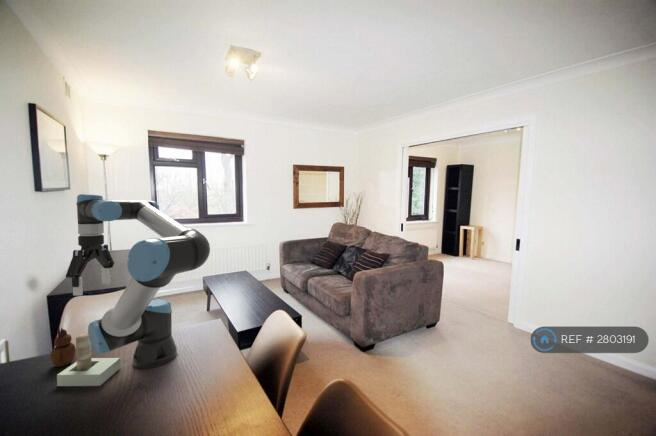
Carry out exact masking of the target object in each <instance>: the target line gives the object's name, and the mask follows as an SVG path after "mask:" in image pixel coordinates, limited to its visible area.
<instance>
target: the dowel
mask: <svg viewBox="0 0 656 436" xmlns="http://www.w3.org/2000/svg"><path fill="white" fill-rule="evenodd" d="M75 356H76V362H77V371H87V370H89V369H90V368H91V367H92V358H93V357H92V346H91V343H90V340H89V335H88V333H82V334H80V335H77V336H76V337H75Z"/></svg>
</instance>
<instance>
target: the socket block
mask: <svg viewBox="0 0 656 436" xmlns="http://www.w3.org/2000/svg"><path fill="white" fill-rule="evenodd" d="M91 358H92V367H91V368H90V369H89V370H87V371H77V361H75V362H74V363H72V364H71V365H70V366H68V367H66V368H65V369H63V370H62V371H61V372H59V373H57V374H56V387H100V386H102V385H103V384H104V383H105V382H107V381H108V380H109V379H110V378H112V376H113V375H114V374H115V373H117V372H118V371H119V370H120V369H121V357H91Z"/></svg>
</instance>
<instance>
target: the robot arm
mask: <svg viewBox="0 0 656 436" xmlns="http://www.w3.org/2000/svg"><path fill="white" fill-rule="evenodd" d="M76 210H77V211H76V212H77V213H76V214H77V215H76V216H77V234H78V236H77V241H78V242H77V245H78V246H80V249H74V250H73V251H72V258H71V260H70V263H69V266H68V269H67V271H66V275H65V278H68V279H71V287H72V296H83V293H84V292H83V290H84V289H83V287H84V286H83V277H82V276H81V275H82V274H83V272H84V270H85V269H86V267H87V265H88V263H89V262H91V261H92V260H94V259H96V261H97V262H98V263H99V264H100V265H101V266H102V268H101V285H110V284H111V268H113V267H114V265H115V262H114V259H113V257H112V255H111V253H110V251H109V245H108V244H104V243H105V235H104V233H105V228H104V223H105V222H114V221H122V220H127V221H128V220H129V221H130V220H137V221H138V222H139V223H141V224H143V225H144V226H146V227H147V228H148V229H150V230H151V231H153V233H155V234H157V235H158V236H159V237H152V238H147V239H144V240H143V239H141V240H139V241H137V242H136V243H135V244H133V245H132V246H131V249H130V250H129V252H128V256H127V258H128V260H126V262H127V265H126V266H127V270H128V273H129V275H130V277H131V278H130V280H129V282H128V283H127V285H126V287H125V288H124V290H123V292H122V294H121V295H120V297H119V298H118V301H117V302H116V303H115V306H113V307H111V308H109V309H108V310H107V311H105V313H104V314H103V316H102V318H100V319H95V320H94V321H91V322H90V323H89V324H88V327H87V334H88V335H89V340H90V343H91V349H92V350H93V351H94V352H95V353H96V354H97V355H100V356H101V355H105V354H108V353H111V352H113V351H115V350H118V349H119V348H123V347H124V346H129V345H130V344H133V343H135V342H137V344H136V347H135V349H134V353H133V356H132V365H133V366H134V367H135V368H136V369H138V368H139V369H152V368H156V367H159V366H163V365H165V364H167V363H169V362H170V361H172V360H173V359H174V358H176V357H177V353H178V349H177V348H178V347H177V344H176V343H175V340H174V338H173V334H172V329H173V328H172V326H173V325H172V322H173V321H172V313H173V310H172V303H171V302H170V301H168V300H165V299H159V298H157V299H154V297H155V296H156V295H157V293H158V292H159V291H160V289H161V288H164V287H166V286H167V285H169V284H170V283H171V281H172V280H173V279H174V277H175V276H176V275H178V274H181V273H185V272H190V271H194V270H197V269H199V268H200V267H202V266H203V265H204V264H205V262H207V260H208V259H209V256H210V252H211V246H210V245H211V244H210V243H209V240H208V239H207V237H206V236H205V235H204V234H202V233H201V232H200V231H198V230H197V229H195V228H188V227H187V226H184V225H183V224H182V223H180V222H178V221H177V220H176V219H174V218H172V217H171V216H169V215H168V214H166V213H164V212H163V211H161V209H160V206H159V205H158V203H157V201H155V200H148V199H141V200H139V199H138V200H136V199H135V200H134V199H133V200H130V199H129V200H127V199H126V200H125V199H124V200H123V199H122V200H121V199H104V197H103V195H101V194H93V193H92V194H90V193H89V194H87V193H86V194H85V193H82V194H81V193H80V194H78V195H77V197H76Z"/></svg>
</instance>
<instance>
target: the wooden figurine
mask: <svg viewBox="0 0 656 436" xmlns="http://www.w3.org/2000/svg"><path fill="white" fill-rule="evenodd" d="M72 340H73V339H72V336H71V334H68V331H67V329H65V328H64V329H63V327H61V329H60V328H59V327H58V328H57V337H55V338H54V341H53V345H54V347H53V349H52V350H51V352H50V361H51V363H52V364H53V366H54V367H57V368H60V367H64V366H65V367H66V366H67V365H69V364H71V363H72V362H73V361H74V358H75V356H76V344H74V343H73V342H72Z"/></svg>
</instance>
